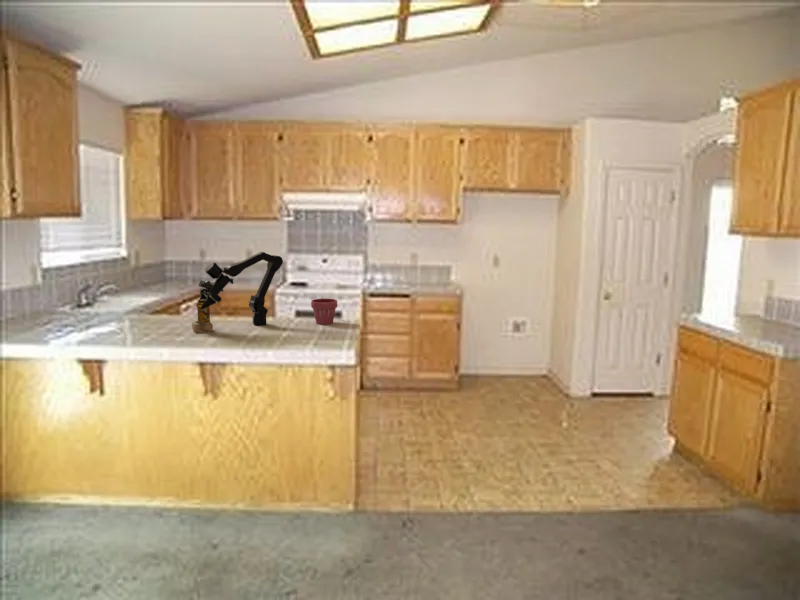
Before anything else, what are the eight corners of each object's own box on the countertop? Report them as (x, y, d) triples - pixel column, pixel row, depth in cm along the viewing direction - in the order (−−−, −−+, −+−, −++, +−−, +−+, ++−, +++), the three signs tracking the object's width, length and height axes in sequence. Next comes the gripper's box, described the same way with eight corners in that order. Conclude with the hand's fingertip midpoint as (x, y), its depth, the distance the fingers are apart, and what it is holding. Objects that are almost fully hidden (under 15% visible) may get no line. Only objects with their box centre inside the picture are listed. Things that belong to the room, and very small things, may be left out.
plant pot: (314, 326, 349) (313, 302, 347) (309, 321, 362) (308, 298, 360) (340, 324, 353) (340, 301, 352) (334, 320, 367) (334, 297, 365)
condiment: (209, 324, 331) (208, 300, 330) (192, 324, 330) (191, 300, 329) (212, 321, 338) (211, 298, 337) (195, 321, 338) (194, 298, 336)
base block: (210, 328, 341) (209, 320, 340) (212, 331, 333) (212, 323, 332) (192, 329, 337) (191, 321, 336) (194, 332, 329) (194, 325, 328)
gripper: (202, 272, 340) (181, 295, 336) (214, 276, 325) (193, 300, 320) (217, 286, 346) (197, 308, 341) (230, 290, 331) (209, 314, 326)
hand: (199, 307), depth 332 cm, fingers open, 7 cm apart
